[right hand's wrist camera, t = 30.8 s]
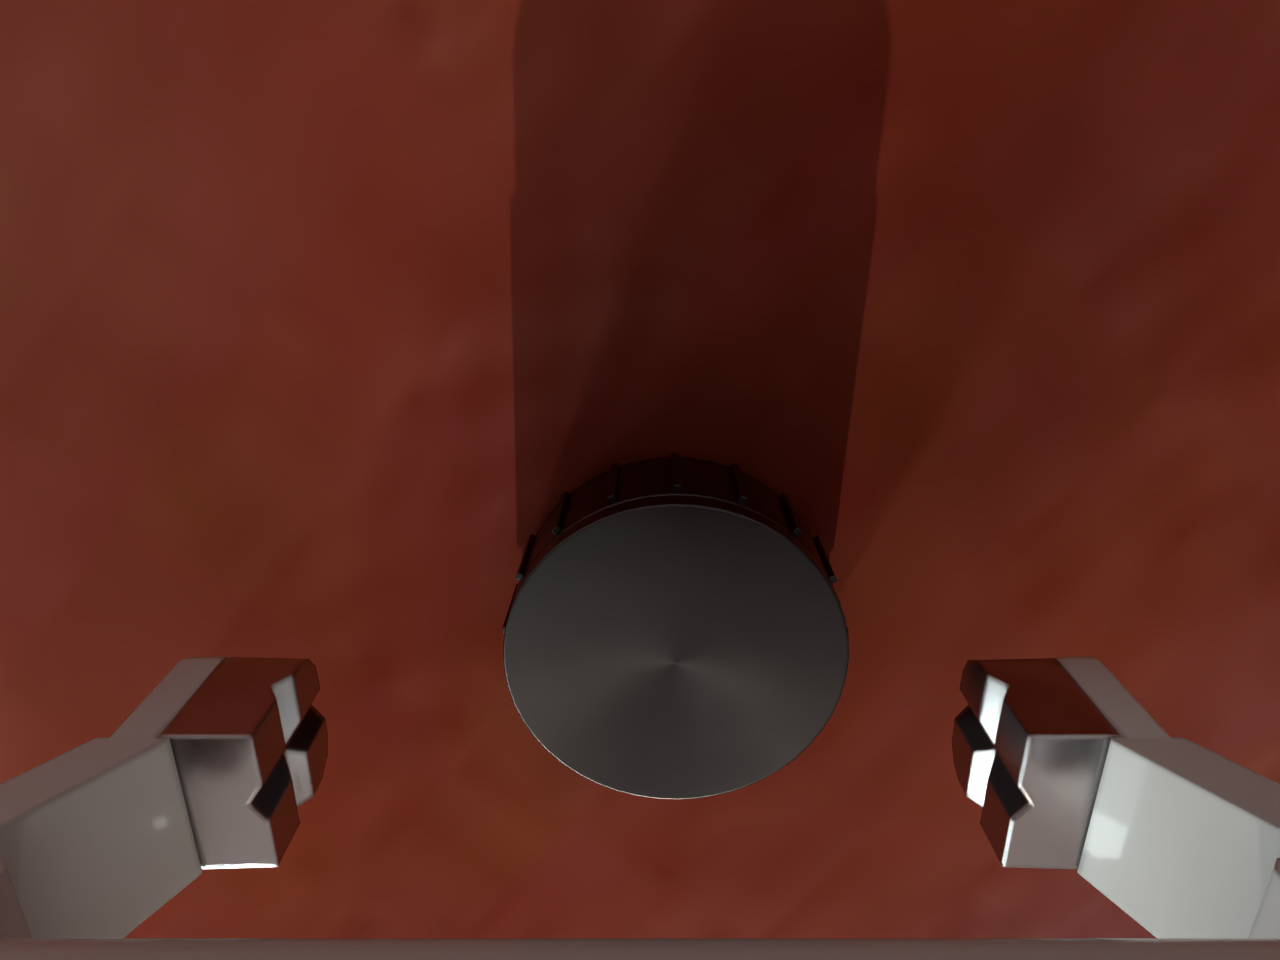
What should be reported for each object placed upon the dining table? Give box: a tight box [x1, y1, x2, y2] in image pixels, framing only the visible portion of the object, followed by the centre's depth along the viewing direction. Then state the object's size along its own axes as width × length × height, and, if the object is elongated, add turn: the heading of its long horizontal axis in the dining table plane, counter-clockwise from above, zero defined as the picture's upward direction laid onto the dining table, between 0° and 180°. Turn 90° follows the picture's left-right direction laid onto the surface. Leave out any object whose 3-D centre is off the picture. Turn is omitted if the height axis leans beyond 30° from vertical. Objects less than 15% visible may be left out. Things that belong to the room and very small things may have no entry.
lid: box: [503, 453, 849, 799], centre depth 13 cm, size 5×5×2 cm
